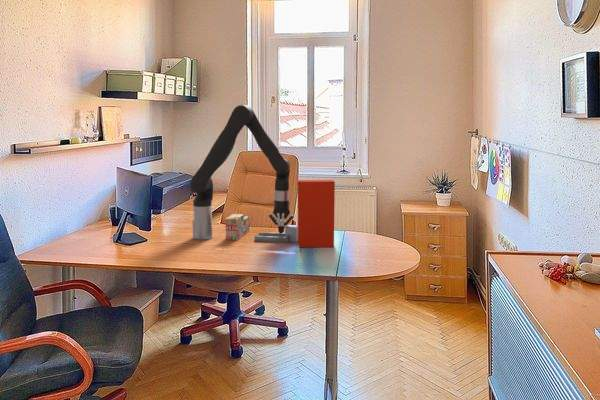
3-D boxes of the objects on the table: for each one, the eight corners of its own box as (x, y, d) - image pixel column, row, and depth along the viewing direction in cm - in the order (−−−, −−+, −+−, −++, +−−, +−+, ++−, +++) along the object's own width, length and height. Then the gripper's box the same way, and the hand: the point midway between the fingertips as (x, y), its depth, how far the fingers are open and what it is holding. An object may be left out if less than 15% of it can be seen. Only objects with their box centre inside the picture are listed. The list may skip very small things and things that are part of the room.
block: (285, 241, 242) (285, 227, 241) (287, 238, 248) (287, 224, 247) (296, 241, 242) (296, 227, 240) (297, 239, 247) (298, 225, 246)
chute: (254, 243, 243) (254, 234, 243) (259, 238, 252) (259, 230, 252) (289, 244, 240) (289, 235, 240) (293, 240, 249) (293, 231, 249)
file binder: (297, 243, 243) (297, 179, 237) (331, 243, 243) (332, 179, 238) (298, 247, 235) (298, 181, 229) (333, 247, 236) (334, 181, 230)
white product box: (238, 232, 267) (237, 210, 265) (249, 233, 266) (249, 210, 264) (225, 242, 246) (225, 218, 244) (237, 242, 245) (237, 218, 243)
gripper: (266, 199, 240) (266, 233, 242) (293, 200, 237) (292, 235, 240) (270, 197, 247) (270, 230, 250) (296, 198, 245) (295, 232, 248)
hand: (281, 233), depth 245 cm, fingers closed
